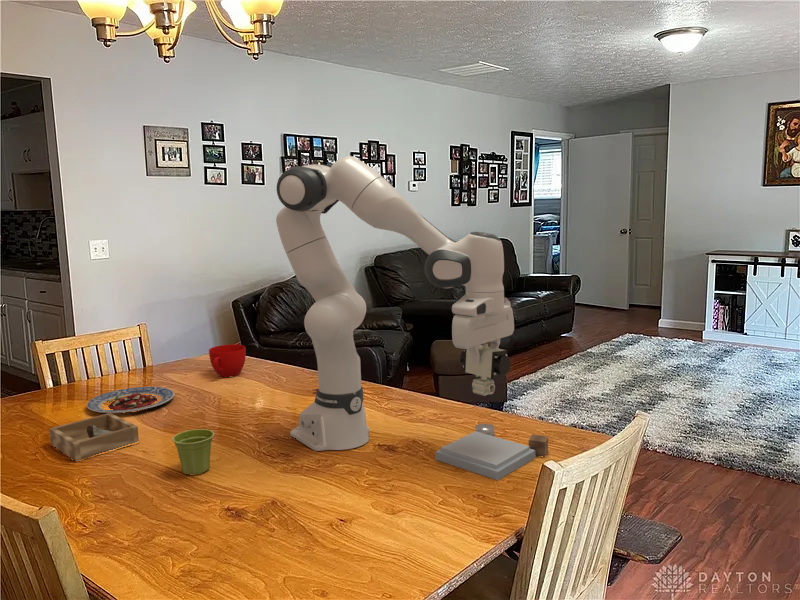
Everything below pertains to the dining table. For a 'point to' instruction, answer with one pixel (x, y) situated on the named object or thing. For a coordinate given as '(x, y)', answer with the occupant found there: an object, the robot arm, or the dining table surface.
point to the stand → (486, 455)
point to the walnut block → (539, 444)
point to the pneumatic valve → (486, 367)
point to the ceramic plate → (130, 399)
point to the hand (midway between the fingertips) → (484, 360)
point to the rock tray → (79, 444)
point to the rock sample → (95, 431)
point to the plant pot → (194, 450)
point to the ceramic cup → (227, 359)
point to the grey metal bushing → (485, 429)
